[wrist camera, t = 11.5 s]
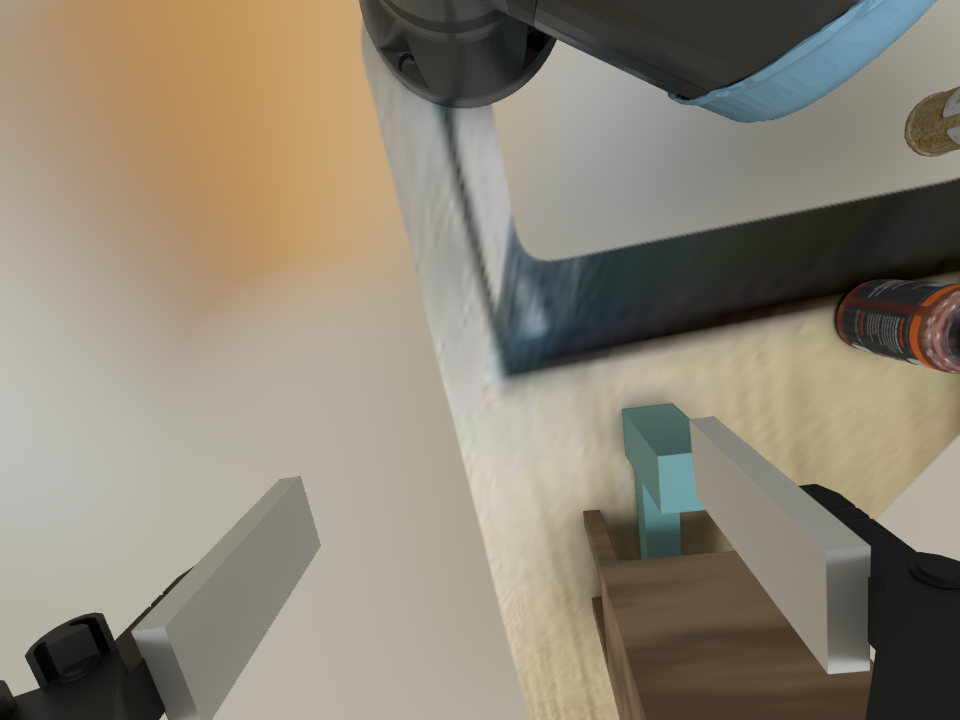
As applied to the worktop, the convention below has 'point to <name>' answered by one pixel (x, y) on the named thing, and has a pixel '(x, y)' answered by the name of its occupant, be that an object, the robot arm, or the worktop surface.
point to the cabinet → (707, 643)
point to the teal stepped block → (660, 475)
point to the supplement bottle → (905, 321)
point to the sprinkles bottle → (935, 124)
